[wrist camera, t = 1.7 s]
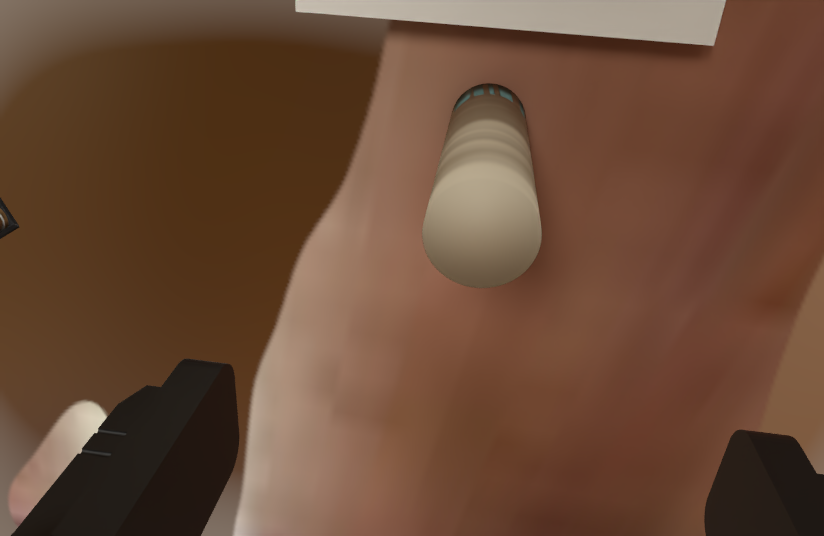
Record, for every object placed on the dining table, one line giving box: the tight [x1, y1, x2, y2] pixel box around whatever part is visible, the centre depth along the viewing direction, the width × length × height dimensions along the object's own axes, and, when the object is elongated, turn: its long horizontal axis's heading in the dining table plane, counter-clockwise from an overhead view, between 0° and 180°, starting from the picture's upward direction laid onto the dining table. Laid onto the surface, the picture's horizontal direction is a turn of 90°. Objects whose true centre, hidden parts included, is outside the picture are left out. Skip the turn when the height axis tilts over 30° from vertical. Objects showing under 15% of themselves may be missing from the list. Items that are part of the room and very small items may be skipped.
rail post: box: [422, 84, 542, 288], centre depth 23 cm, size 3×3×12 cm
